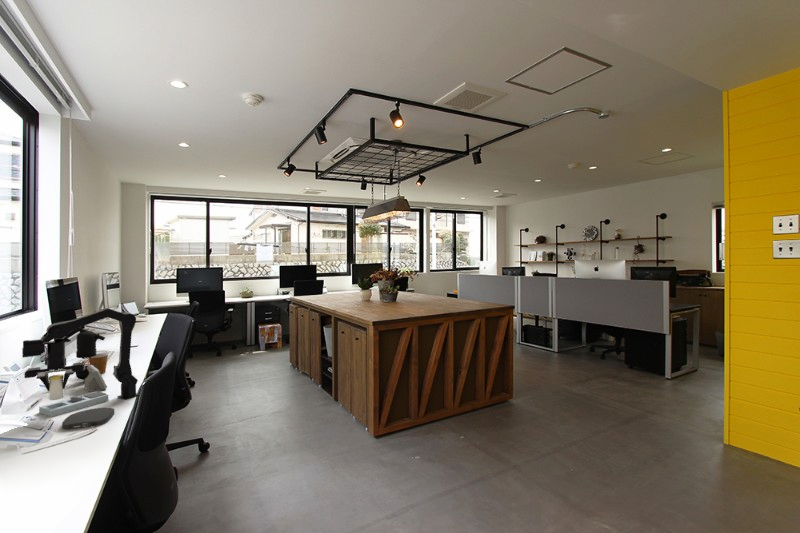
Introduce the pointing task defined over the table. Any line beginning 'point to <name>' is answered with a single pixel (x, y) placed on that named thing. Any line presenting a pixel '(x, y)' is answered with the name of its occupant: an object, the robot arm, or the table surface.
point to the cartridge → (55, 387)
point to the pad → (94, 394)
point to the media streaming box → (88, 418)
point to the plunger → (76, 398)
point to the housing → (70, 405)
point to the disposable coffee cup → (100, 360)
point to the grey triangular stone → (94, 379)
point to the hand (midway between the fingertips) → (56, 389)
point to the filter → (86, 349)
